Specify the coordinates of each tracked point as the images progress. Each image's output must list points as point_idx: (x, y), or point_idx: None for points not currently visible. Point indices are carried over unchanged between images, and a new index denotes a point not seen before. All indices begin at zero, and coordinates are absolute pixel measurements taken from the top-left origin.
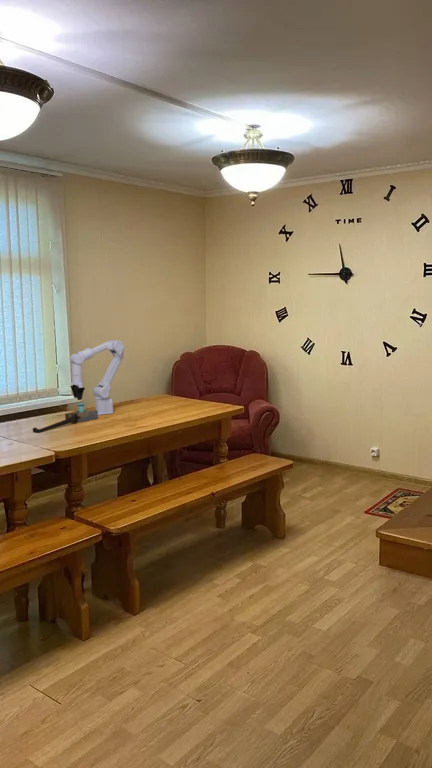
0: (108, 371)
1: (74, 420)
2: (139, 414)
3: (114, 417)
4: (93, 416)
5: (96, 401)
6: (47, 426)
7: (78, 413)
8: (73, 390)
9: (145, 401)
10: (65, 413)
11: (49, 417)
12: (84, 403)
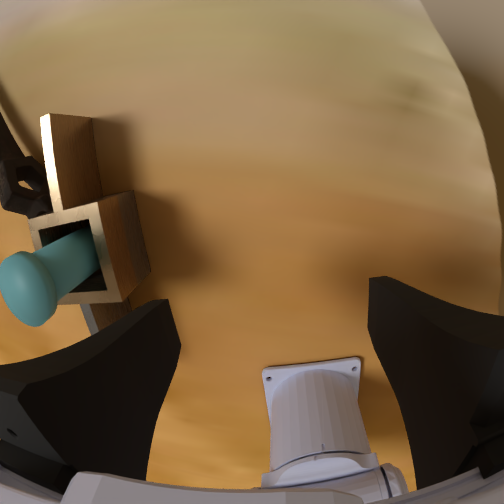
0: None
1: (43, 184)
2: (195, 484)
3: None
4: None
5: (307, 439)
6: None
7: (30, 227)
8: (429, 342)
9: None
10: (48, 117)
11: (356, 15)
12: (22, 320)
